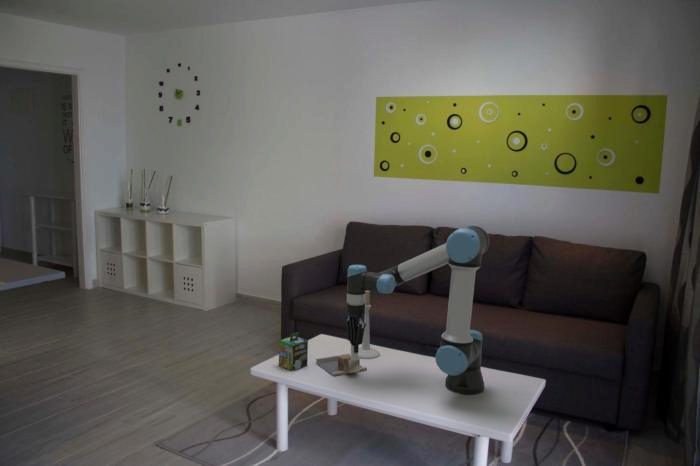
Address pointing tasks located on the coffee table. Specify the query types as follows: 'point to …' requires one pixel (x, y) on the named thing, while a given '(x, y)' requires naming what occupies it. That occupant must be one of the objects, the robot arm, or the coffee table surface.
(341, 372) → the grey flat square piece
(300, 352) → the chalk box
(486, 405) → the coffee table surface
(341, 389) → the coffee table surface
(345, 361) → the block
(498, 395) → the coffee table surface
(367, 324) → the candlestick
